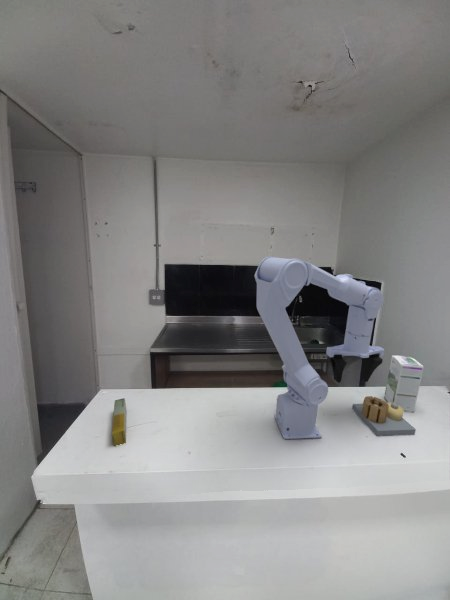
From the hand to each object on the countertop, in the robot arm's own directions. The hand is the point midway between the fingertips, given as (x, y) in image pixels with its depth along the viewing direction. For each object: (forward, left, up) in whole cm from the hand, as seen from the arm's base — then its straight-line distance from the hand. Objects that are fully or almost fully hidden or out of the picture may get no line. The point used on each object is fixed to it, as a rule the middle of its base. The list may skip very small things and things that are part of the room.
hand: (350, 380), depth 62 cm
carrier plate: (+8, -3, -10) cm, 14 cm away
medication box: (-60, -2, -11) cm, 61 cm away
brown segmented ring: (+6, -3, -9) cm, 11 cm away
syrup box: (+18, +3, -11) cm, 21 cm away
